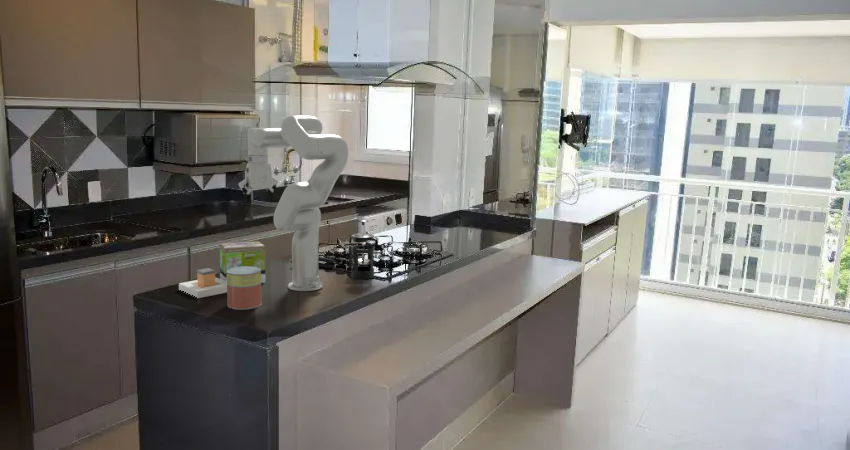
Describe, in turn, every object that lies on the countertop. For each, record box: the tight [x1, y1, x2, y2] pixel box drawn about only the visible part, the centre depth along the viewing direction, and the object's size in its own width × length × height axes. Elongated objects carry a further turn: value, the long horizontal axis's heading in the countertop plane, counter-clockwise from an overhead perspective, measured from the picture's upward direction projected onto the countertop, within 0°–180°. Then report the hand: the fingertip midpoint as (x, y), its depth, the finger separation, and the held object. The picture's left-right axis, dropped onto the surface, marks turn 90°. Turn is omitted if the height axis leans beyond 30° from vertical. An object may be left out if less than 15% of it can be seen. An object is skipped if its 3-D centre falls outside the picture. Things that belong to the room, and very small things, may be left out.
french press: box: [348, 219, 375, 281], centre depth 257 cm, size 12×9×23 cm
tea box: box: [219, 241, 266, 284], centre depth 246 cm, size 15×10×15 cm
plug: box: [196, 267, 217, 288], centre depth 234 cm, size 5×5×7 cm
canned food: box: [226, 266, 263, 311], centre depth 218 cm, size 11×11×12 cm
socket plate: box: [178, 276, 227, 299], centre depth 234 cm, size 14×14×3 cm
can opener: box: [318, 256, 336, 269], centre depth 272 cm, size 18×7×6 cm, turn 86°
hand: (258, 202), depth 257 cm, fingers open, 9 cm apart
